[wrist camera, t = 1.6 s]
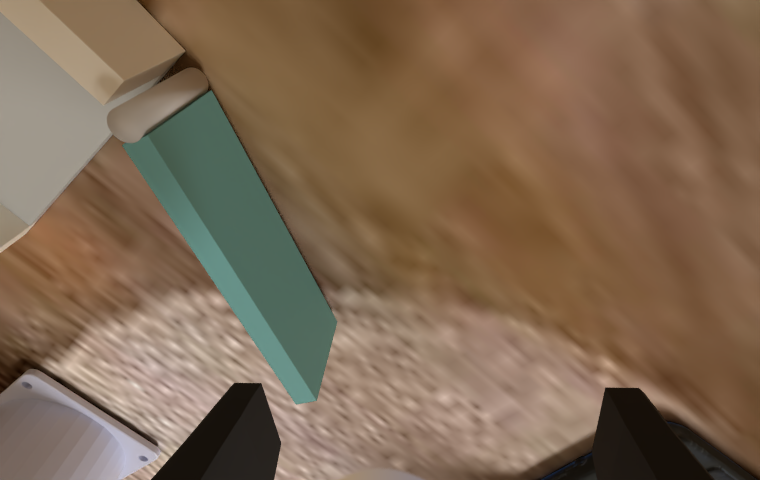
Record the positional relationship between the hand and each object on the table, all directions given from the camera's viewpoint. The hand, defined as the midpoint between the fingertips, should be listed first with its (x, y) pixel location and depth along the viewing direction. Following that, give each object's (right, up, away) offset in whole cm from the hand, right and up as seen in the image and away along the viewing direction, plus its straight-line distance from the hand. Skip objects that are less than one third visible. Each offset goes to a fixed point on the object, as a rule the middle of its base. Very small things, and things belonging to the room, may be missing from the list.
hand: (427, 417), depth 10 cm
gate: (-5, +5, +7) cm, 10 cm away
